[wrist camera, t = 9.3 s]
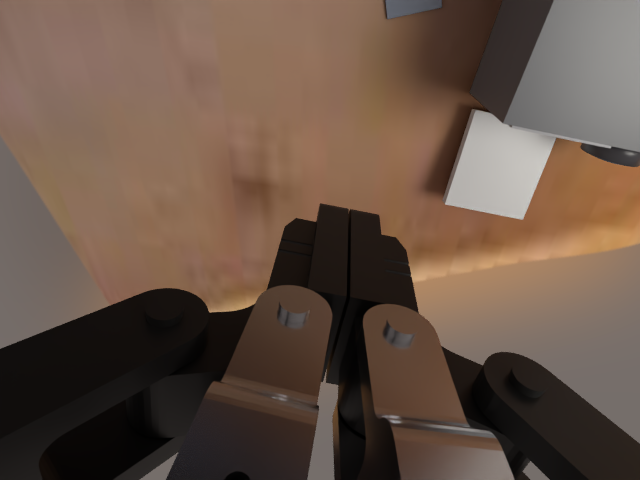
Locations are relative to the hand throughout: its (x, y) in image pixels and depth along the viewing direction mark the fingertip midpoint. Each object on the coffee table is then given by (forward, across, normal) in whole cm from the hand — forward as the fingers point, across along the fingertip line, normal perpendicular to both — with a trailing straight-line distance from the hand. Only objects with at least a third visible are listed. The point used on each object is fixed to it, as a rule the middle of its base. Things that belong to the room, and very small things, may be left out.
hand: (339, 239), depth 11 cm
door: (+26, -14, +1) cm, 30 cm away
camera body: (+27, -16, -5) cm, 32 cm away
